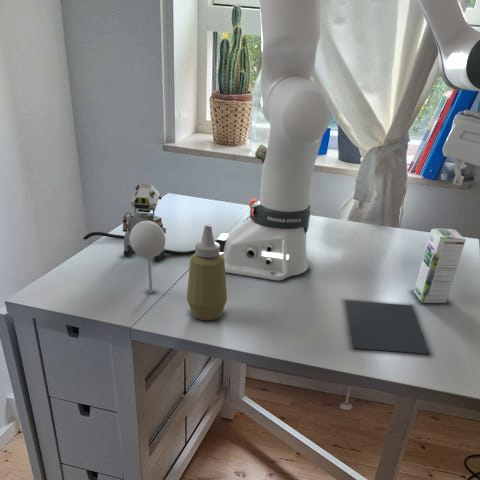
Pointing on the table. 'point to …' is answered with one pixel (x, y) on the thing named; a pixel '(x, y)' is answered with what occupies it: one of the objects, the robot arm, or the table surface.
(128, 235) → the figurine
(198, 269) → the squeeze bottle
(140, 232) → the lollipop
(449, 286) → the syrup box
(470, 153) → the robot arm
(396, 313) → the mat
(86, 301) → the table surface
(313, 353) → the table surface
